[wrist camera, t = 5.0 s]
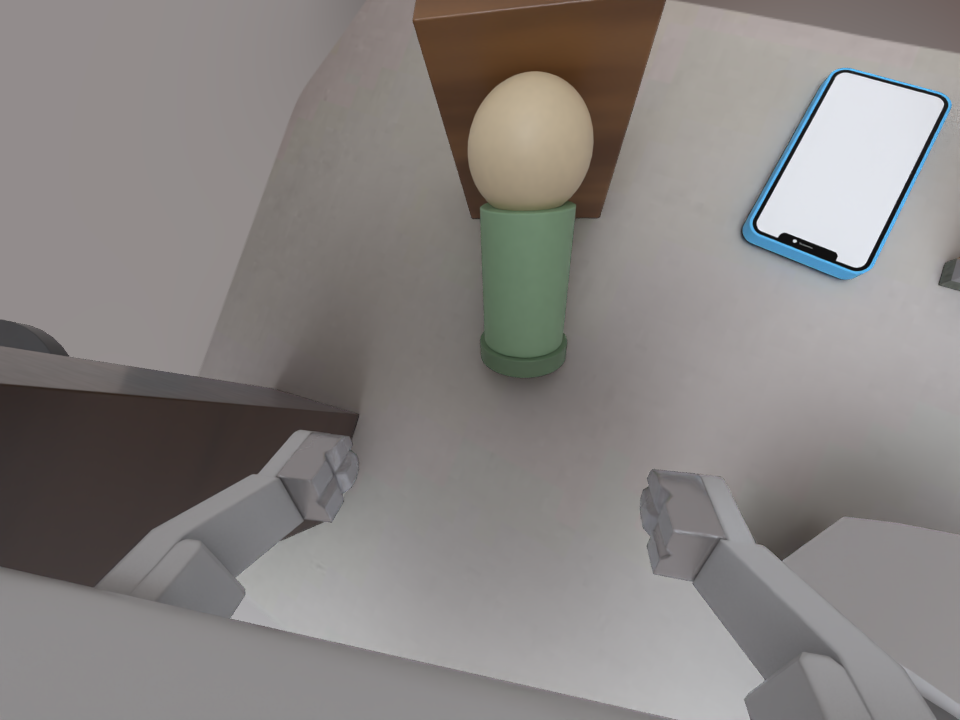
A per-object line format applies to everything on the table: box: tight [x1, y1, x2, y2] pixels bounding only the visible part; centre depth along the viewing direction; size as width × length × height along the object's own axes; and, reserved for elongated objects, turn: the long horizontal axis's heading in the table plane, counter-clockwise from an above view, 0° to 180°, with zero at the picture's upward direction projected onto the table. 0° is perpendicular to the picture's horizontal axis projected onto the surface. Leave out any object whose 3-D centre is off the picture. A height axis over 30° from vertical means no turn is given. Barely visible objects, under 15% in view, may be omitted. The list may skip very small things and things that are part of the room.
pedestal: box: [0, 346, 359, 588], centre depth 16 cm, size 8×8×22 cm
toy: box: [468, 71, 594, 378], centre depth 19 cm, size 13×6×13 cm, turn 175°
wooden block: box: [413, 0, 666, 219], centre depth 21 cm, size 3×10×14 cm, turn 85°
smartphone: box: [743, 68, 952, 280], centre depth 24 cm, size 8×1×15 cm
